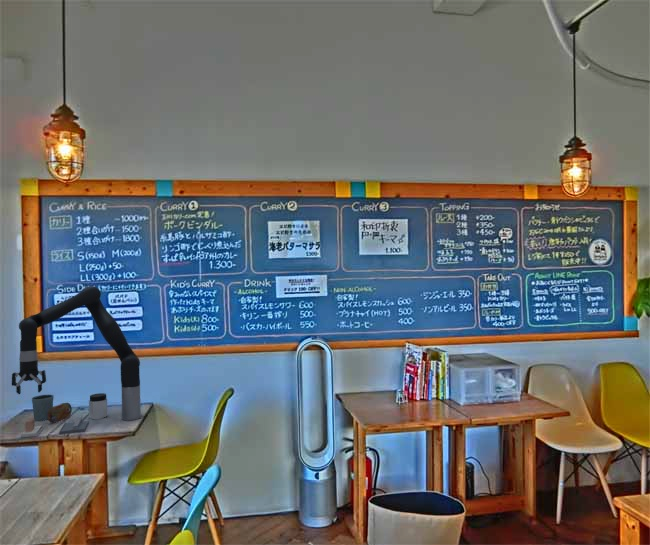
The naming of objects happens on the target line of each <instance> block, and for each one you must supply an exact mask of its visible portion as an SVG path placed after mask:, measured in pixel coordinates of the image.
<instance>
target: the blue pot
mask: <svg viewBox="0 0 650 545" xmlns="http://www.w3.org/2000/svg"><path fill="white" fill-rule="evenodd" d="M31 404H32V411H33V412H32V413H33V418H34V420H35V421H34V422H45V420H46V421H49V420H48V411H49V409H50V408H52V407H54V394H40V395H36V396H33V397H31Z"/></svg>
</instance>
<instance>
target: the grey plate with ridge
mask: <svg viewBox="0 0 650 545" xmlns="http://www.w3.org/2000/svg"><path fill="white" fill-rule="evenodd" d="M89 422H90V421H89V420H83V417H82V416H81V417H77V418H76V420H75V422H73V421H72V422H65V423H63V425H62V427H61V428H60V429H59V431H58V432H59V433H58V435H65V434H66V435H67V434H68V435H69V434H75V433H77V434H78V433H85V432H86V429H87V427H88V426H89Z"/></svg>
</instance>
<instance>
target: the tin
mask: <svg viewBox="0 0 650 545" xmlns="http://www.w3.org/2000/svg"><path fill="white" fill-rule="evenodd" d="M72 411H73V409H72V405H71V403H69V402H61V403H60V404H57V405H53V407H52V408H50V409H49V411H48V420H47V421H48V422H50V423H52V424H53V423H56V422H57V423H59V421H60V422H61V420H62V421H64V420H66V418H67V419H68V418H70V416H71V414H72ZM63 419H64V420H63ZM57 423H56V424H57Z"/></svg>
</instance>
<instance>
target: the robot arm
mask: <svg viewBox="0 0 650 545" xmlns="http://www.w3.org/2000/svg"><path fill="white" fill-rule="evenodd" d="M101 296H102V295H101V290H100V288H98V287H96V286H93V285H89V286H86V287H84V288H83V289H82V290H81V291H79V292H78V293H77V294H75V295H73V296H71V297H70V298H68V299H66V300H63V301H60V302H59V303H57V304H54V305H52V306H50V307H48V308H45V309H43V310H41V311H40V312H38V313H36V314H32V315H30V316H27V317H26V318H24V319H22V320H20V322H19V323H18V329H19V330H20V341H19V358H18V359H19V360H18V361H19V372H13V373H12V374H11V386H12V387H14V386H15V387H16V388H15V389H16V390H15V392H16V394H17V395H21V393H22V392H21V390H22V389H21V385H22V383H23V382H28V381H29V382H32V381H34V382H36V383H37V393H41V391H42V390H43V384H45V383H47V378H46V377H47V375H46V373H47V372H46V370H45V369H43V370H39V364H38V363H39V362H38V361H39V359H38V358H39V357H38V342H37V336H38V329H39V328H41V327H43V326H45V325H49V324H51V323H53V322H55V321H57V320H60V319H62V318H63V317H64V316H66V315H68V314H69V313H71V312H73V311H75V310H77V309H79V308H81V307H86V309H87V310H88V312H89V313H90V315H91V316H92V318H93V321H94V323H95V325H96V326H97V329H98V330H99V331H100V333H101V335H102V337H103V338H104V340H105V341H106V343H107V344H108V345H109V346H110V347H111V348H112V350H114V352H115V353H116V354H117V356H118V359H119V361H120V383H121V386H120V387H121V420H122V419H123V421H134V420H138V419H141V416H142V413H141V410H142V409H141V406H142V405H141V402H142V401H141V379H140V366H141V362H140V358H139V357H138V356H137V355H136V353H135V352H134V351H133V349H132V348H131V346H130V345H129V342H128V341H127V339H126V337H125V334H124V333H123V331H122V329H121V327H120V326H119V324H118V322H117V320H116V319H115V318H114V317H113V316H112V315H111V314H110V312H108V310H107V309H106V307H104V304H103V302H102V301H101ZM39 375H40V376H41V379H40V377H38V376H39ZM18 376H19V377H20V379H19V380H18V382H17V378H18Z"/></svg>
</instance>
